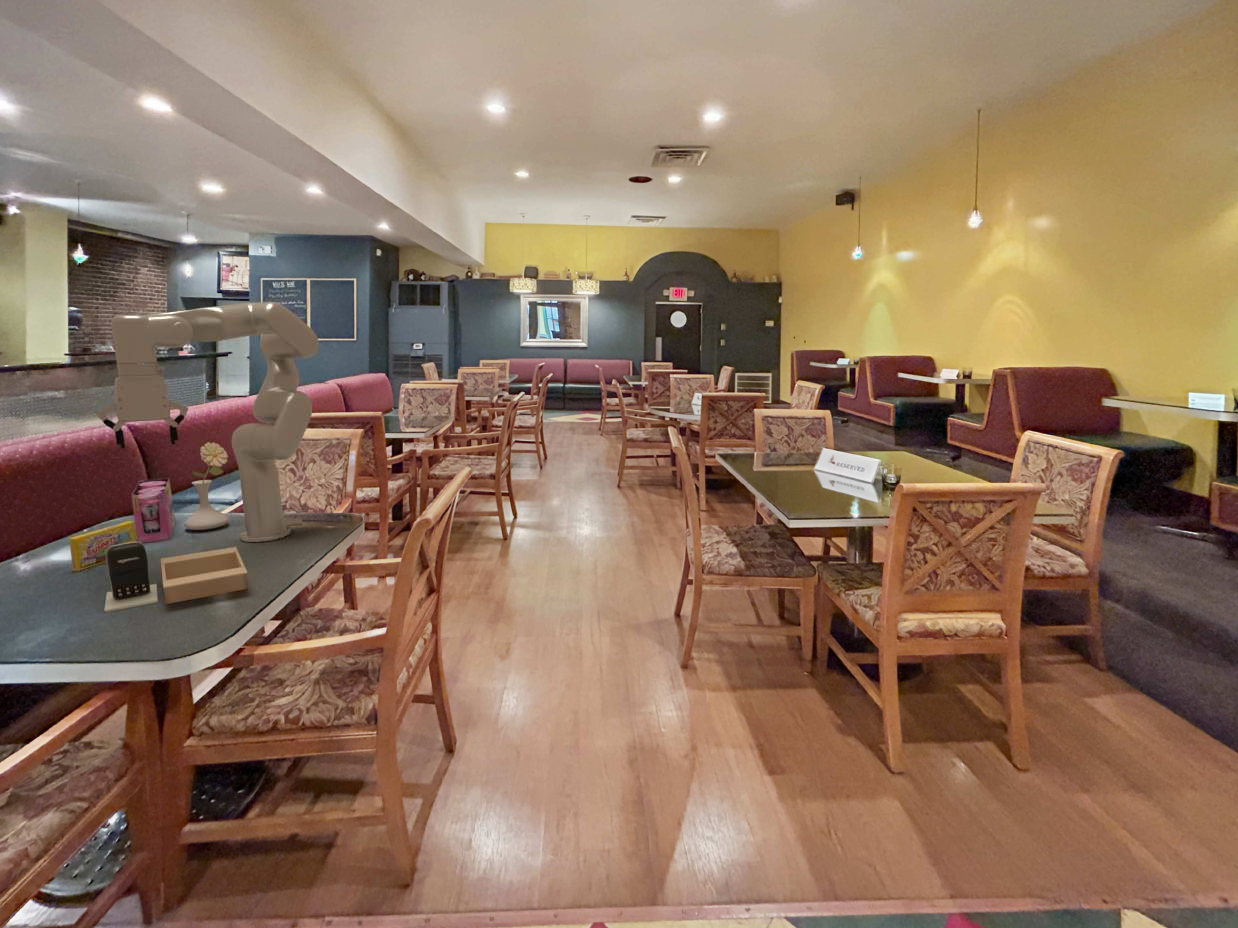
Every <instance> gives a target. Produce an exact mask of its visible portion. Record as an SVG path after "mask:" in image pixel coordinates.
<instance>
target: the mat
mask: <svg viewBox="0 0 1238 928" xmlns="http://www.w3.org/2000/svg"><path fill="white" fill-rule="evenodd" d="M157 586H158V585H157V583H154V584H150V592H149V593H146V594H143V595H138V596H134V597H129V598H124V599H115V598H113V596H112V591H107V592H106V596H105V604H104V610H103V611H104V613H110V612H115V611H119V610H121V611H122V610H125V609H132V608H136V607H141V606H148V605H152V604H156V603H157V604H158V602H159V601H158V587H157Z"/></svg>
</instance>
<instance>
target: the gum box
mask: <svg viewBox="0 0 1238 928" xmlns="http://www.w3.org/2000/svg"><path fill="white" fill-rule="evenodd" d="M131 503H132V510H133V517H134V518H133V519H134V528H135V537H136V542H140V543H142V544H143V543H151V542H158V541H159V542H160V541H167V540H170V539H171V537H172V534H173V531H174V528H175V524H176V515H175V509H174V501H173V494H172V487H171V481H170V477H165V478H154V479H142V480H139V481H138V483H137V485H136V486H135V488H134V490H133V491H132V493H131Z"/></svg>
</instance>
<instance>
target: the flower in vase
mask: <svg viewBox="0 0 1238 928" xmlns="http://www.w3.org/2000/svg"><path fill="white" fill-rule="evenodd" d="M199 451H200V453H199V454H200V456H201V458H200V459H201V460H202V461H203V462H204V463H206V465H207V466H208V468H207V470H206V473H200V472H196V471H193V470H192V474H193V475H194V476H196V477H201V478H203V479H202V480H195V481H192V482H191V484H192V485H193V486H194V487H195V488H196V491H197V494H198V499H199V506H198V508H197V509H196V511H194V512H193V513H192V514H191V515H190V516H189V517H188V518H187V519H186V520H185V521H184V523H183V526H184V528H186V529H187V530H193V531H202V530H203V531H206V530H212V529H216V528H220V527H222V526H224V525H226V524H228V523H229V521H230V518H229V517H228V516H227V515H226V514H225V513H222V511H219V510H217V509H215V508H214V507H212V506H211V504H210V501H209V488H210V486H211V484H212V481H213V480H212V479H206V478H207V476H208V473H210V474H211V475H213V476H218V475H219V476H220V475H221V474H223V473H224V470H223V469H221V468H222V466H223V465H225V464H226V463H227V462H228V459H227V458H229V455H228V453H227V451H226V450H225V449H224V447H222V446H221V445H220V444H219V443H215V442H212V443H211V442H209V441H208V442H207V443H205V444H204V446H203V445H202V446H201V447H200V450H199ZM211 466H212V467H211ZM210 467H211V468H210Z"/></svg>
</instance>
